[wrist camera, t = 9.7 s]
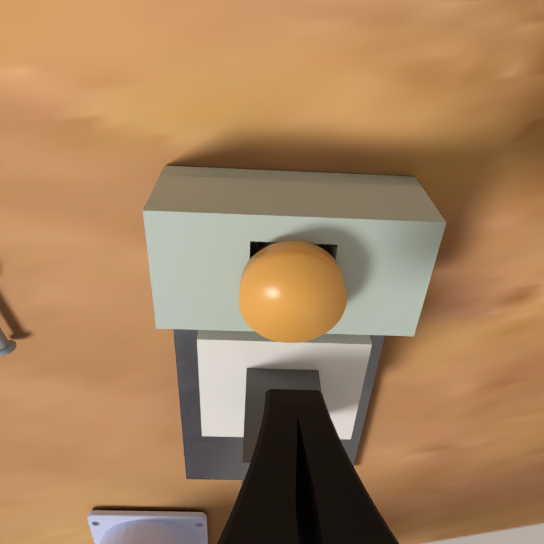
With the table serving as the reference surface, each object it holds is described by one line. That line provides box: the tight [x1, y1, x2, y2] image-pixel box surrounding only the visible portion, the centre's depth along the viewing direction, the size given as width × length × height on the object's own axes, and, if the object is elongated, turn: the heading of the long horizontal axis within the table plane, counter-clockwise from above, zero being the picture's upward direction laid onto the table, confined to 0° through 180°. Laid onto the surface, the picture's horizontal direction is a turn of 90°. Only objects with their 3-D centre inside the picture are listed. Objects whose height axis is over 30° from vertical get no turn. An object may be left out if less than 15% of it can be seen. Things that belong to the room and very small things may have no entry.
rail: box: [174, 175, 413, 480], centre depth 23 cm, size 20×10×2 cm, turn 177°
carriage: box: [197, 330, 372, 484], centre depth 19 cm, size 6×7×6 cm
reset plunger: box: [239, 241, 347, 343], centre depth 17 cm, size 4×4×4 cm
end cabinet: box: [143, 166, 447, 336], centre depth 18 cm, size 5×10×4 cm, turn 87°
